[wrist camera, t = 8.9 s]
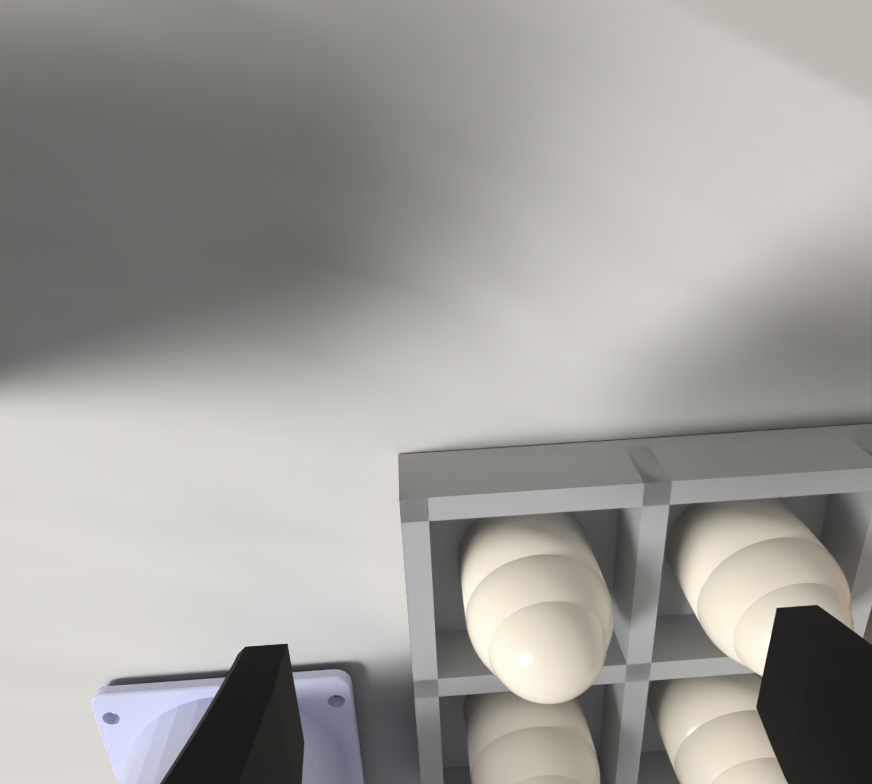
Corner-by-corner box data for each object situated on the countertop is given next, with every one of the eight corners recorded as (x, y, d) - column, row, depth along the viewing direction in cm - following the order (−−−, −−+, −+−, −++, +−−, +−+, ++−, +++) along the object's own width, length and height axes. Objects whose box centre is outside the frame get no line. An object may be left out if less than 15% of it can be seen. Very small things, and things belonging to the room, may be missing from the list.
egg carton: (950, 731, 26) (997, 787, 24) (421, 773, 25) (424, 834, 23) (1071, 410, 20) (1144, 449, 18) (398, 454, 20) (399, 499, 18)
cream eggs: (928, 713, 25) (1040, 853, 21) (464, 750, 24) (480, 901, 20) (1015, 467, 21) (1179, 578, 16) (455, 504, 20) (474, 629, 16)
